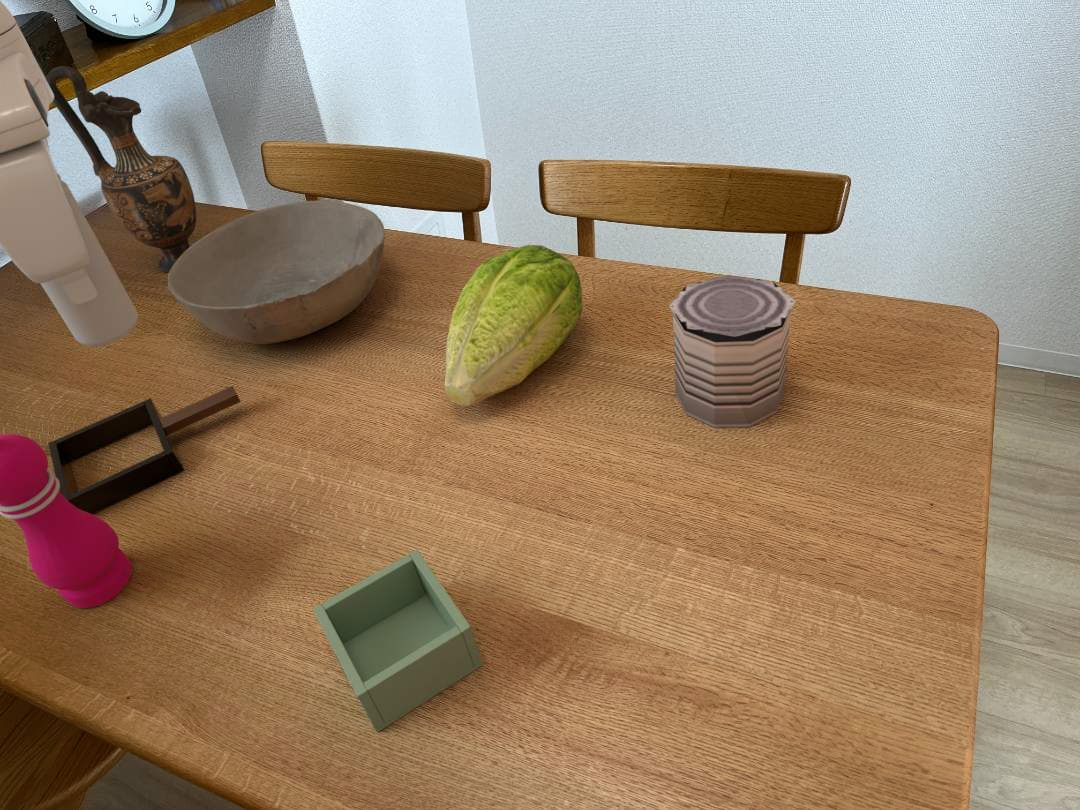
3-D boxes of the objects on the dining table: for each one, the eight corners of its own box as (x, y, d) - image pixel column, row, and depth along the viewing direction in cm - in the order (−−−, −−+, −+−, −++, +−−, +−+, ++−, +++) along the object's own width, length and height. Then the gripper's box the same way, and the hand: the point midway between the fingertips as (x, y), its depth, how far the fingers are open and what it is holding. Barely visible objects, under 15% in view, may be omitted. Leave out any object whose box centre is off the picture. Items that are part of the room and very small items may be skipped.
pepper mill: (91, 548, 81) (-27, 401, 68) (152, 554, 80) (43, 404, 67) (45, 609, 76) (-92, 462, 63) (109, 617, 75) (-18, 467, 61)
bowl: (299, 395, 96) (269, 328, 89) (155, 343, 109) (120, 280, 102) (437, 275, 112) (421, 210, 105) (298, 242, 125) (275, 182, 118)
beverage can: (147, 307, 64) (70, 165, 56) (134, 342, 60) (50, 194, 52) (85, 320, 64) (0, 178, 56) (69, 355, 60) (-25, 209, 52)
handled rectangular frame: (76, 522, 85) (61, 503, 83) (61, 461, 93) (47, 443, 91) (259, 434, 91) (249, 415, 89) (230, 385, 99) (221, 366, 97)
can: (660, 417, 84) (655, 324, 77) (693, 352, 92) (691, 261, 84) (770, 439, 80) (777, 343, 72) (795, 369, 87) (804, 275, 79)
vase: (207, 274, 121) (110, 72, 102) (128, 285, 122) (17, 86, 103) (228, 235, 130) (142, 42, 110) (154, 245, 131) (57, 56, 111)
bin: (377, 732, 62) (357, 696, 59) (332, 645, 69) (312, 608, 65) (483, 664, 66) (470, 626, 62) (431, 587, 72) (417, 548, 68)
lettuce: (382, 367, 88) (450, 340, 77) (485, 245, 100) (555, 207, 89) (461, 447, 93) (534, 431, 82) (550, 321, 104) (624, 294, 94)
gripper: (-92, 70, 56) (18, 245, 65) (-87, 153, 42) (52, 362, 51) (5, 44, 58) (98, 217, 67) (40, 115, 44) (151, 321, 53)
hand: (79, 280), depth 59 cm, fingers closed on beverage can, 5 cm apart
